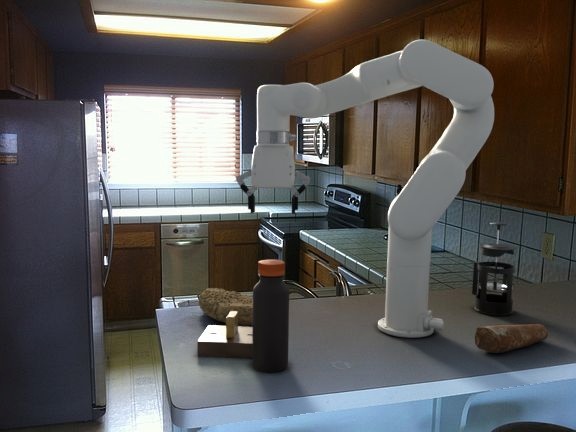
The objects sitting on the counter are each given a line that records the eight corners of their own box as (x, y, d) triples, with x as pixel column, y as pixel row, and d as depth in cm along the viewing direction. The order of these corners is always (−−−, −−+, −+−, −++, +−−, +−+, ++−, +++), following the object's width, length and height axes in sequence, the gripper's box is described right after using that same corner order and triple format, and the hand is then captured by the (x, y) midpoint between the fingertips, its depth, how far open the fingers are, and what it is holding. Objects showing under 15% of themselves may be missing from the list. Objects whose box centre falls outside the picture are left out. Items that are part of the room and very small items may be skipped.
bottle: (259, 375, 101) (260, 267, 99) (247, 361, 107) (247, 259, 105) (293, 369, 104) (295, 264, 102) (279, 357, 110) (281, 257, 108)
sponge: (193, 316, 139) (212, 324, 120) (197, 285, 140) (217, 288, 121) (243, 321, 143) (269, 329, 125) (247, 290, 144) (273, 294, 126)
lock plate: (264, 340, 119) (264, 326, 119) (257, 358, 109) (258, 343, 109) (208, 338, 120) (208, 324, 120) (197, 355, 110) (197, 340, 110)
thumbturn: (230, 329, 117) (230, 309, 116) (238, 329, 117) (238, 310, 116) (225, 337, 112) (225, 317, 111) (233, 338, 112) (233, 317, 111)
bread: (470, 350, 116) (472, 323, 115) (532, 336, 125) (534, 312, 124) (495, 360, 110) (496, 333, 110) (557, 345, 119) (559, 320, 119)
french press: (523, 313, 142) (529, 223, 139) (499, 319, 137) (505, 226, 134) (484, 302, 152) (490, 218, 149) (461, 307, 147) (466, 220, 144)
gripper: (310, 140, 133) (309, 211, 135) (238, 139, 134) (238, 210, 136) (310, 139, 126) (309, 215, 128) (233, 139, 126) (234, 214, 129)
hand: (273, 212), depth 132 cm, fingers open, 9 cm apart
